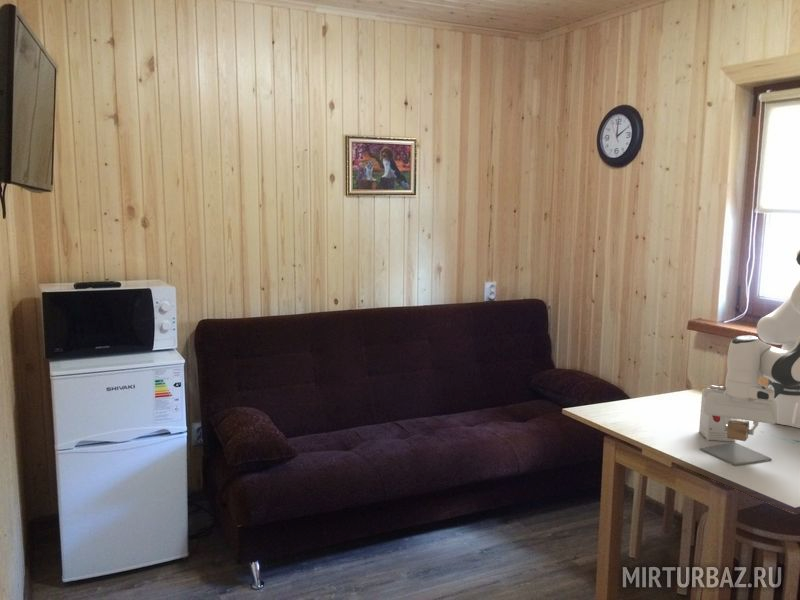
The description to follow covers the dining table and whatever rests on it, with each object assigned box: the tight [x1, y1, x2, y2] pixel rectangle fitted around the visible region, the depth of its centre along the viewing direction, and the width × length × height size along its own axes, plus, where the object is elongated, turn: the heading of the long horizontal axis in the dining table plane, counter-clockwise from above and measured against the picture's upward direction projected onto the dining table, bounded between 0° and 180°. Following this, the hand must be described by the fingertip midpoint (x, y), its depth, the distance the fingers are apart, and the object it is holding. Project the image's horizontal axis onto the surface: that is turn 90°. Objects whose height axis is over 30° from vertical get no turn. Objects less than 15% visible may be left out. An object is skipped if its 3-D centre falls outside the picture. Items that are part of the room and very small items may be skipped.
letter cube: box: [727, 418, 750, 442], centre depth 201 cm, size 5×5×5 cm
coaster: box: [699, 442, 773, 467], centre depth 203 cm, size 14×14×1 cm
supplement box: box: [698, 389, 736, 442], centre depth 218 cm, size 9×9×15 cm
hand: (738, 432), depth 202 cm, fingers closed on letter cube, 5 cm apart
